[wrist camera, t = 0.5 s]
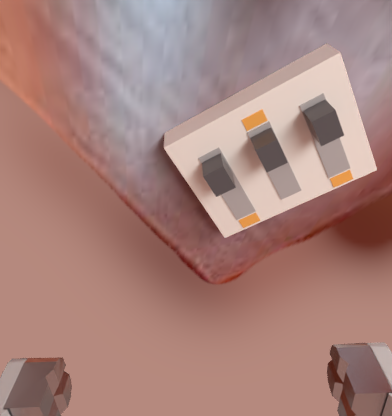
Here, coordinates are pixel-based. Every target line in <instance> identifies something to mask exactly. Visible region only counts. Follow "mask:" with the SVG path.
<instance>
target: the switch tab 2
mask: <svg viewBox="0 0 392 416" xmlns="http://www.w3.org/2000/svg"><path fill="white" fill-rule="evenodd" d="M251 141H252V143H253V146H254V149H255V151H256V153H257V155H258V157H259V159H260V161H261V163H262V165H263V167H264V168H265V170H266V172H269V171H271V170H274V169H276V168H278V167H280V166H282V165H284V164H286V163H288V161H287V159H286V157H285V155H284V153H283V151H282V149H281V146H280V144H279V142H278V140H277V138H276V136H275V134H274V132H273V130H272V128H269V129H267V130H265V131H263V132H261V133H259V134H257V135H255V136H253V137H251Z"/></svg>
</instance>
